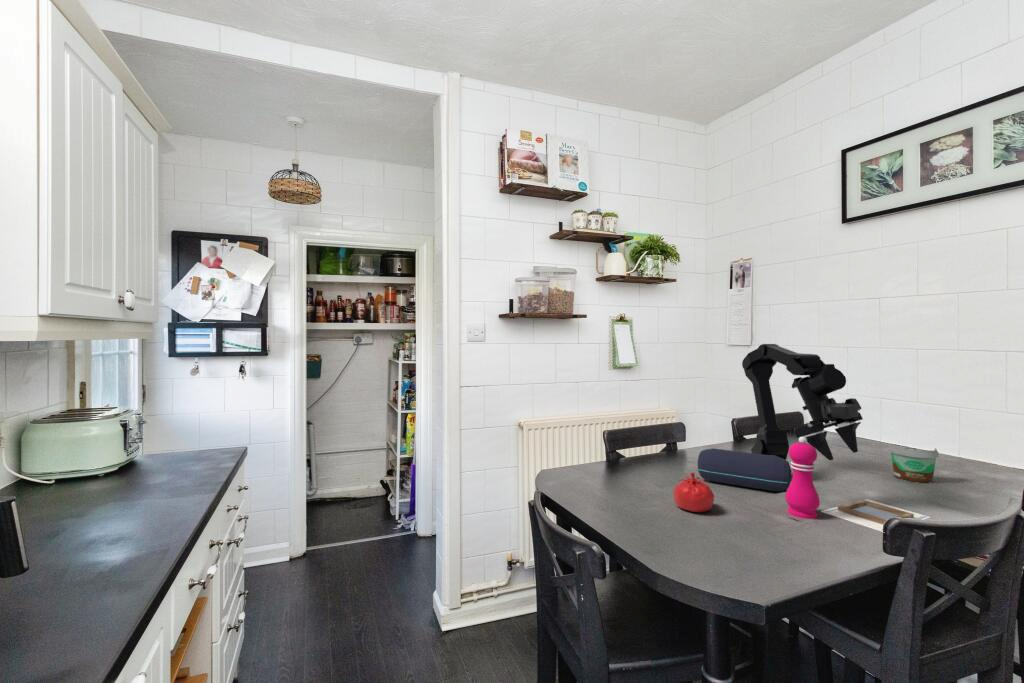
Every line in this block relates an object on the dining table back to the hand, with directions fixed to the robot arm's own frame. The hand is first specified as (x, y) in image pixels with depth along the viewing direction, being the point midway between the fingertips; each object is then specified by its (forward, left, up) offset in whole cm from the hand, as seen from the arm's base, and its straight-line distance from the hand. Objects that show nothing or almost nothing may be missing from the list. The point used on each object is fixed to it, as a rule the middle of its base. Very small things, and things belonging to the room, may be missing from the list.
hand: (843, 456), depth 123 cm
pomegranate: (-29, -25, -14) cm, 41 cm away
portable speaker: (-25, +3, -14) cm, 29 cm away
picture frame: (+7, -3, -14) cm, 15 cm away
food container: (+14, +43, -14) cm, 47 cm away
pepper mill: (-7, -14, -14) cm, 21 cm away
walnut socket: (+7, -3, -13) cm, 15 cm away
